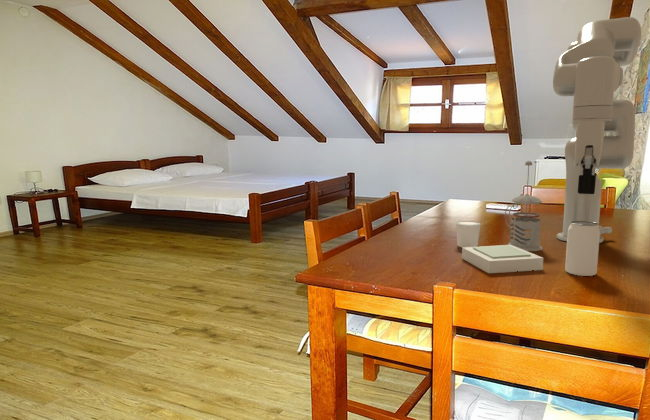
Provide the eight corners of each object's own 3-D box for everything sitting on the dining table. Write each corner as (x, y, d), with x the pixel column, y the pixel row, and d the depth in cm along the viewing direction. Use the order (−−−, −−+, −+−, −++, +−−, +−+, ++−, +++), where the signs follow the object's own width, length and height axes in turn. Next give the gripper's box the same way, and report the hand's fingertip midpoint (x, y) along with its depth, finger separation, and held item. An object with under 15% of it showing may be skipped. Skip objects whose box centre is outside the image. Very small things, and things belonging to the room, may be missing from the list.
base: (510, 255, 123) (511, 243, 122) (542, 269, 109) (543, 256, 109) (461, 258, 121) (462, 245, 120) (488, 273, 107) (489, 259, 107)
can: (559, 269, 109) (562, 220, 108) (584, 268, 110) (588, 219, 108) (576, 277, 103) (579, 225, 101) (603, 276, 104) (607, 224, 102)
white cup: (481, 249, 131) (481, 225, 130) (456, 248, 132) (457, 224, 131) (478, 243, 137) (478, 221, 136) (454, 243, 139) (455, 220, 138)
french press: (527, 252, 126) (532, 162, 122) (494, 244, 136) (497, 160, 132) (550, 248, 130) (556, 161, 126) (516, 240, 140) (521, 159, 137)
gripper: (574, 117, 110) (570, 187, 113) (570, 114, 95) (565, 194, 98) (611, 116, 106) (605, 189, 109) (613, 112, 92) (606, 196, 94)
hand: (586, 191), depth 103 cm, fingers open, 9 cm apart
